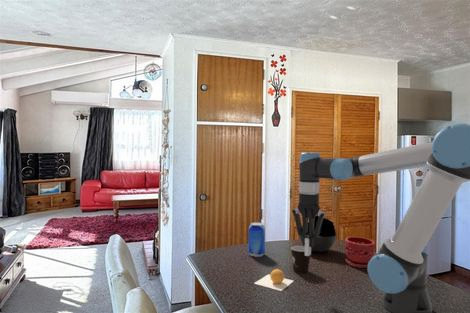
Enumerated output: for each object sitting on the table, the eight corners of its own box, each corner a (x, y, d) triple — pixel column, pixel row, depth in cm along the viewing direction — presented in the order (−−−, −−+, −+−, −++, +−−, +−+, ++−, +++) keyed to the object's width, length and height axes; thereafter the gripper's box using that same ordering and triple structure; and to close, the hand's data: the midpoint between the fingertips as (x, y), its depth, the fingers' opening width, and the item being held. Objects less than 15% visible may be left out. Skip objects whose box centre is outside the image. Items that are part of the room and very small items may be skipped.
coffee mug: (310, 275, 141) (311, 252, 141) (290, 273, 143) (290, 250, 143) (310, 266, 153) (310, 244, 153) (291, 264, 154) (291, 243, 154)
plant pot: (346, 268, 151) (346, 242, 151) (343, 259, 164) (344, 235, 164) (376, 271, 148) (377, 244, 148) (371, 261, 161) (372, 237, 160)
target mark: (294, 281, 135) (294, 280, 135) (281, 291, 125) (281, 290, 125) (268, 274, 141) (268, 274, 141) (253, 283, 131) (253, 283, 131)
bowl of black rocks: (322, 259, 163) (323, 221, 162) (290, 250, 177) (291, 215, 177) (343, 251, 176) (344, 216, 176) (312, 243, 191) (312, 211, 191)
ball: (281, 283, 134) (289, 275, 132) (274, 288, 130) (283, 279, 128) (271, 273, 137) (279, 264, 135) (265, 277, 132) (273, 268, 130)
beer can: (246, 256, 166) (247, 224, 166) (250, 251, 174) (251, 221, 174) (262, 258, 164) (263, 226, 163) (266, 253, 172) (266, 222, 171)
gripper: (329, 193, 124) (327, 255, 124) (296, 190, 131) (295, 249, 132) (322, 195, 118) (321, 260, 118) (289, 192, 125) (287, 254, 125)
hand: (307, 254), depth 125 cm, fingers closed
